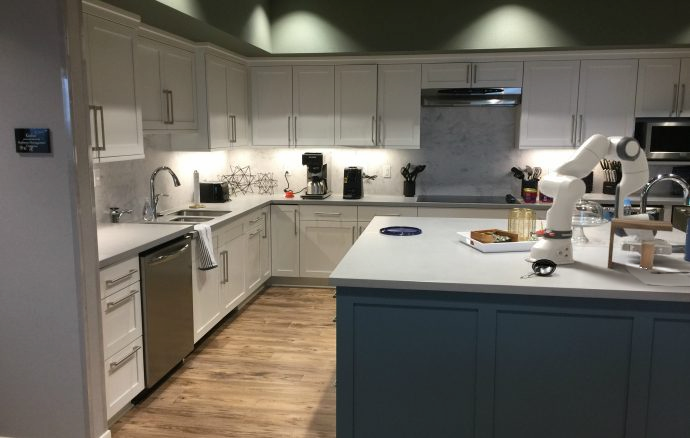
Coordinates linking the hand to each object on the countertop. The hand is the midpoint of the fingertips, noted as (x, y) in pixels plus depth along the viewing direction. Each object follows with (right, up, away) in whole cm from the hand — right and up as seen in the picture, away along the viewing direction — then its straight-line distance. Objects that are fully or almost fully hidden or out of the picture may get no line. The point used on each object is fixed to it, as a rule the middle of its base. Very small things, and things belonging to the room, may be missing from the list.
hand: (646, 250), depth 251 cm
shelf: (-6, -7, -3) cm, 9 cm away
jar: (-2, -7, -4) cm, 9 cm away
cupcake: (-28, +1, +50) cm, 57 cm away
